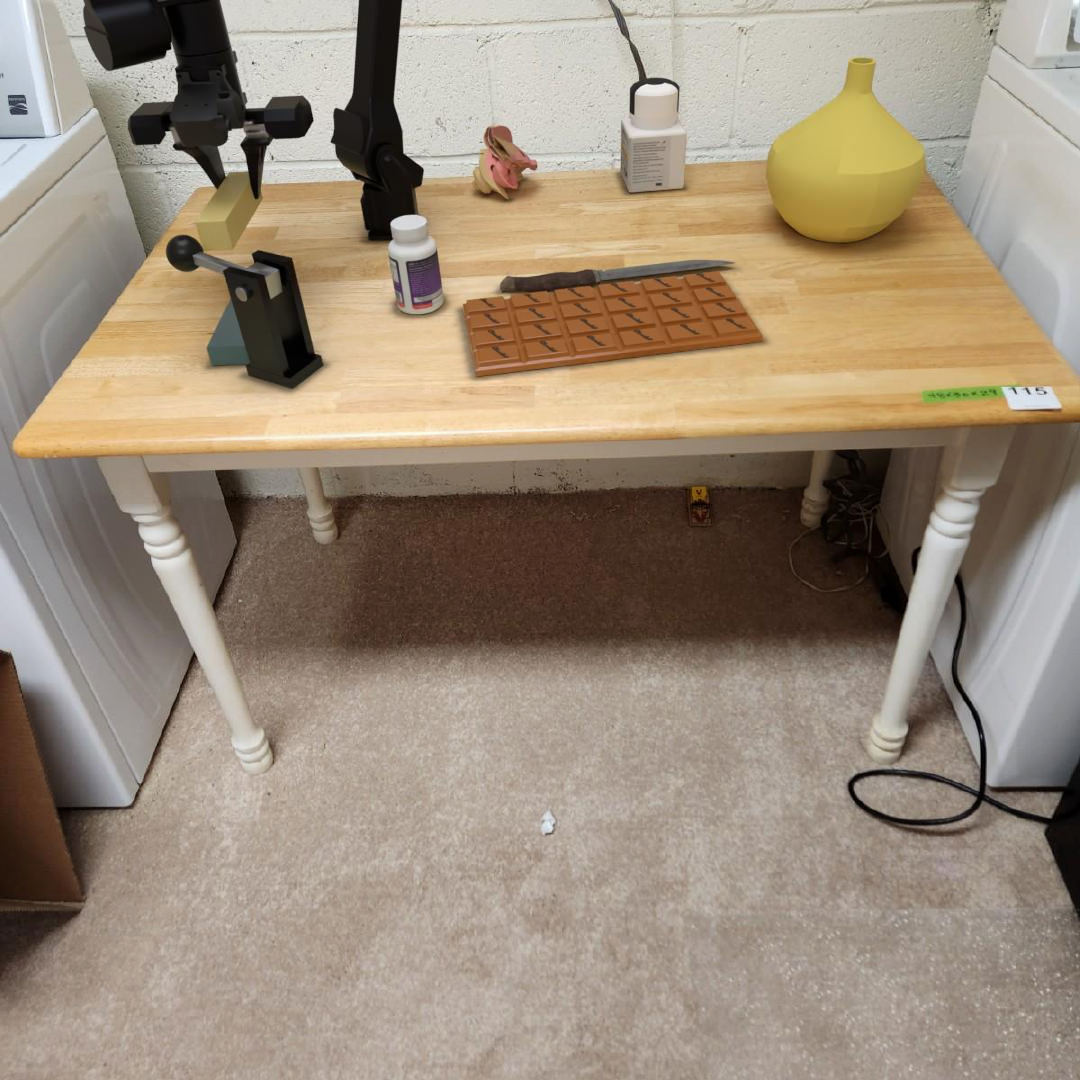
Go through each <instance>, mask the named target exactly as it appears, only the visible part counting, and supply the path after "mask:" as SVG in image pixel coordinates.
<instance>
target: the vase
mask: <svg viewBox="0 0 1080 1080" xmlns="http://www.w3.org/2000/svg"><path fill="white" fill-rule="evenodd" d="M876 63H877V60H876V59H875V58H872V57H867V56H856V57H851V58H849V59H848V64H847V70H846V76H845V82H844V84H843V88H842V89H841V91H840V92H838V94H837V95H836V96H835V97H834V98H833V99H832V100H830V101H829V102H827V103H826V104H824V105H822V106H821V107H820V108H819V109H817V110H816V111H814V112H813V113H811V114H810V115H808V116H807V117H806V118H804V119H802V120H801V121H799V122H798V123H796V124H794V125H793V126H790V128H788V129H786V130H785V131H784V132H782V133H780V134H779V135H778V136H777V137H776V138H775V139H774V140H773V143H772V144H771V146H770V149H769V151H768V153H767V158H766V170H765V180H766V182H767V185H768V190H769V193H770V197H771V201H772V203H773V204H774V207H775V208H776V210H777V211H778V212H779V215H781V217H782V219H783V220H784V222H785V223H787V225H788V226H790V227H791V228H792V229H794V230H795V231H796V232H797V233H798V234H800V235H802V236H804V237H806V238H809V239H811V240H816V241H820V242H827V243H852V242H858V241H861V240H864V239H867V238H869V237H872V236H874V235H876V234H878V233H879V232H881V231H882V230H885V228H887V227H888V226H889V225H891V224H892V223H893V222H894V221H895V220H896V219H898V218H899V217H900V216H902V214H903V213H904V211H905V210H906V208H907V207H908V205H909V204H910V203H911V201H912V200H913V198H914V196H915V195H916V193H917V192H918V190H919V189H920V187H921V186H922V183H923V180H924V176H925V172H926V167H927V162H926V155H925V149H924V145H923V144H922V143H921V142H920V141H919V140H918V139H917V138H916V137H915V136H914V135H913V134H912V133H911V132H910V131H909V130H907V128H905V126H903V125H902V124H901V123H900V122H899V121H898V120H897V119H896V118H895V117H894V116H893V115H892V113H890V112H889V111H888V110H887V108H886V107H884V106H883V105H882V104H881V103H880V102H879V101H878V99H877V97H876V95H875V93H874V91H873V80H874V75H875V70H876Z"/></svg>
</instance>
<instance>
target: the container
mask: <svg viewBox="0 0 1080 1080" xmlns="http://www.w3.org/2000/svg"><path fill="white" fill-rule="evenodd" d="M679 107H680V86H679V84H678V83H677V82H676V81H674V80H671V79H669V78H665V77H647V78H642V79H639V80H638V81H636V82H634V83H632V85H631V86H630V87H629V109H628V111H629V114H628V115H629V116H623V117H622V118H621V120H620V174H621V177H622V178H623V182H624V184H625V186H626V189H627V192H629V193H630V194H631V193H633V194H634V193H646V192H656V191H657V192H658V191H669V190H680V189H681V190H682V189H683V188H684V185H685V171H686V154H687V153H686V152H687V138H688V137H687V135H688V132H687V130H686V128H685V127H684V125H683V123H682V122H681V120H680V118H679Z"/></svg>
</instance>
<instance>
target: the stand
mask: <svg viewBox="0 0 1080 1080" xmlns="http://www.w3.org/2000/svg"><path fill="white" fill-rule="evenodd" d="M251 257H252V261H253V264H254V263H256V262H259V263H262V264H264V265H267V266H270V267H273V268H276V269H278V270H279V273H280V279H281V285H282V292H281V293H280V294H278V295H276V296H275V297H273V298H272V299H271V298H270V295H269V291H268V287H267V283H266V279H265V276H264V275H263V274H258V273H254V272H250V271H246V270H242V269H238V268H234V267H228V268H227V269H225V270H223V274H224V275H223V277H224V280H225V284H226V287H227V290H228V293H229V297H230V298H231V301H232V304H233V307H234V311H235V314H236V317H237V321H238V324H239V328H240V331H241V334H242V338H243V341H244V344H245V348H246V351H247V354H248V358H249V361H250V363H248V364H245V369H246V372H247V375H248V376H250V377H252V378H256V379H259V380H263V381H266V382H270V383H273V384H276V385H279V386H283V387H286V388H290V389H294V388H295V387H297V386H298V385H299V384H301V383H302V382H303V381H304V380H306V379H307V378H308V377H310V376H311V375H313V374H314V373H315V372H316V371H318V370H320V369H321V367H323V366H324V361H323V357H322V355H321V354H318V353H316V351H315V347H314V343H313V339H312V335H311V330H310V327H309V323H308V318H307V314H306V310H305V306H304V302H303V297H302V293H301V288H300V284H299V281H298V277H297V272H296V268H295V264H294V260H293V257H291V256H286V255H282V254H277V253H275V252H274V253H273V252H270V251H265V250H261V249H257V250H256V251H254V252H252V253H251Z"/></svg>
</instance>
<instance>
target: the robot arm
mask: <svg viewBox="0 0 1080 1080" xmlns="http://www.w3.org/2000/svg"><path fill="white" fill-rule="evenodd" d="M82 1H83V3H84V5H83V8H82V16H83V22H84V26H83V30H84V33H85V37H86V39H87V42H88V44H89V46H90V49H91V50H92V51H91V52H92V53H93V54H94V56H95V58H96V59H97V61H98V63H99V64H100V65H101V67H102V68H103V69H104V70H105V71H106V72H112V71H115V70H116V71H117V70H120V69H125V68H130V67H134V66H137V65H138V66H139V65H142V64H145V63H151V62H154V61H155V62H156V61H158V60H163V59H165V58H166V56H167V53H168V52H167V51H172V50H173V53H174V56H175V60H176V63H177V66H175V67H174V71H175V79H176V82H177V93H176V95H175V96H174V98H173V99H174V100H173V101H154V102H153V101H151V102H143V103H142V104H141V105H139V107H138V108H136V110H135V111H133V113H131V115H129V118H128V120H127V130H128V133H129V137H130V139H131V142H132V145H135V146H152V145H155V146H156V145H161V143H162V142H163V141H164V139H165V137H166V136H167V132H169V133H170V132H171V135H172V139H173V142H174V143H173V145H172V148H173V149H174V150H175V151H177V152H183V153H185V154H187V155H188V156H190V157H191V158H192V159H193V160H194V161H195V162H196V163H197V164H198V165H199V166H200V167H201V169H202V171H203V172H204V173H205V175H206V176H207V177H208V179H209V181H210V182H211V184H212V185H213V186H214V188H215V189H216V190H217V189H218V188H219V186H220V185H221V183H222V182H223V180H224V179H225V178H226V176H227V175H226V172H225V168H224V164H223V161H222V158H221V154H220V151H219V147H221V146H223V145H225V144H226V143H228V139H229V132H232V131H233V130H242V129H243V132H244V133H245V137H244V138H243V140H242V141H241V143H240V144H239V145H240V148H241V149H242V151H243V153H244V156H245V161H246V166H247V171H248V173H249V179H250V185H251V189H252V192H253V195H254V198H255V199H259V197H260V193H261V192H262V182H263V173H264V165H265V157H266V153H267V148H268V147H269V146H270V145H271V144H272V142H273V141H274V140H288V139H291V140H292V139H300V138H304V137H306V135H307V133H308V131H309V130H310V128H311V126H312V124H313V123H314V115H313V110H312V105H311V103H310V101H309V100H308V99H307V98H306V97H305V96H304V95H285V96H283V95H282V96H271V98H270V100H269V101H268V103H267V104H266V106H265V107H254V108H253V107H252V108H247V106H246V105H247V103H248V102H249V101H248V96H247V93H246V92H245V91H243V89H242V85H241V80H240V76H239V72H238V69H237V63H238V62H239V60H238V55H237V52H236V50H233V48H232V44H231V39H230V35H229V32H228V28H227V23H226V19H225V15H224V11H223V8H222V7H223V6H222V3H221V0H82ZM402 9H403V0H358V6H357V23H356V38H355V54H354V68H353V69H354V71H353V82H352V83H353V84H352V85H353V86H352V94H351V97H350V99H349V101H348V102H347V104H346V106H345V108H344V109H342V108H338V107H334V108H333V112H332V113H333V114H332V119H333V133H332V136H331V139H330V143H331V145H334V150H335V151H334V152H335V155H336V156H335V157H336V159H338V161H339V162H340V163H341V165H342V166H343V167H344V168H345V169H347V170H349V171H350V173H351V175H352V177H353V178H354V180H356V181H360V182H362V183H363V186H362V194H361V197H360V200H359V202H360V207H361V214H362V220H363V223H364V225H363V226H364V230H365V231H367V232H368V233H367V239H368V240H369V241H381V240H382V241H383V240H393V237H392V231H391V222H392V221H393V220H394V219H396V218H398V217H401V216H405V215H420V216H422V215H421V214H420V213H419V208H418V207H419V206H418V200H417V194H416V188H420V187H421V186H422V185H423V180H424V172H425V169H424V167H423V166H422V165H420V164H419V163H417V162H416V161H415V160H414V159H412V158H411V157H409V156H408V155H407V154H406V153H404V133H403V128H402V123H401V120H400V118H399V114H398V111H397V109H396V108H397V107H396V106H395V92H396V81H397V80H396V78H397V69H398V68H397V66H398V56H399V45H400V44H399V43H400V33H401V22H402V21H401V20H402ZM172 48H173V49H172Z"/></svg>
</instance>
